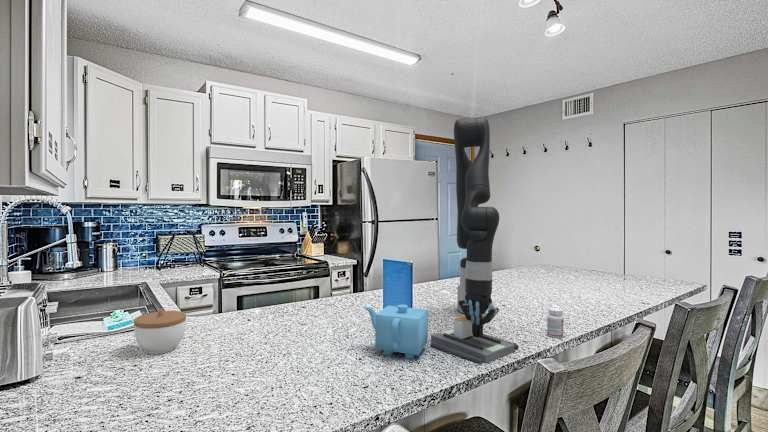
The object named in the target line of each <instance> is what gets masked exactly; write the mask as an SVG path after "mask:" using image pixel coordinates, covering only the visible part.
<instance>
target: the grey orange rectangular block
mask: <svg viewBox="0 0 768 432" xmlns="http://www.w3.org/2000/svg"><path fill="white" fill-rule="evenodd" d="M453 328H454V336H455V337H458V338H461V339H464V338H467V337H470V336H473V334H472V323H471V321H470V320H467V319H466V317H465V315H461V316H457V317H454V318H453Z"/></svg>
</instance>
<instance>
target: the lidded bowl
mask: <svg viewBox="0 0 768 432" xmlns="http://www.w3.org/2000/svg"><path fill="white" fill-rule="evenodd" d="M186 320H187V314H186V313H185V312H184V311H180V310H164V309H163V308H162V309H158V310H157V311H151V312H148V313H143V314H141V315H139V316H137V317H135V318H134V320H133V325H134V337H135V341H136V342H137V344H138V346H139V347H140V348H141V349H142V350H144V351H145V353H147V354H150V355H158V354H159V355H160V354H165V353H169V352H172V351H173V350H175V349H176V346H178V345H179V343H181V341H182V339H183V338H184V336H185V335H184V334H185V331H186V323H187V322H186Z"/></svg>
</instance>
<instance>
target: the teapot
mask: <svg viewBox="0 0 768 432" xmlns="http://www.w3.org/2000/svg"><path fill="white" fill-rule="evenodd" d="M362 308H364V309H365V310H366V311H367V312H368V314H369V315H370V320H371V324H372V327H373V328H372V329H374V332H375V333H374V335H375V336H374V349H375V350H379V351H380V350H381V351H383V352H382V354H383V356H387V357H388V356H392V355H393V354H394V353H400V354H404V358H405V357H406V359H408V360H409V359H410V360H412V358H413V359H415V358H414V357H415V356H420V354H421V353H422V351H423V350H424V348H425V347H426V345H427V344H428V342H429V339H428V337H429V336H428V335H429V332H428V331H429V309H427V308H426V309H425V308H417V307H409V306H408V305H407V304H398V305H397V306H396V305H387V306H386V307H384V308H383V309H382V310H380V311H379V312H377V313H376V311H375V310H374V308H372V307H371V306H362Z"/></svg>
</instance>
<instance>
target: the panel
mask: <svg viewBox="0 0 768 432" xmlns="http://www.w3.org/2000/svg"><path fill="white" fill-rule="evenodd" d="M486 335H487V334H486ZM486 335H482V336H481V337H479V338H477V337H474V336H470V337H467V338H464V339H461V338H458V337H455V336H454V327H453V328H450V329H446V330H443V331H439V332H436V333H433V334H430V342H431V343H432V342H433V343H436V344H439V345H442V346H445V347H448V348H451V349H454V350H457V351H460V352H463V353H466V354H469V355H472V356H475V357H477V358H480V359H482V363H485V364H488V363H490V362H492V361H495V360H497V359H500V358H502V357H505V356H507V355H510V354H512V353H515V345H514V344H515V343H514V344H511V343H512V342H511V343H508V342H509V341H507V342H505V341H506V340H504V341H502V340H503V339H501V340H499V339H500V338H498V339H496V338H497V337H495V338H492V337H493V336H492V337H489V336H490V335H489V336H486Z"/></svg>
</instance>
